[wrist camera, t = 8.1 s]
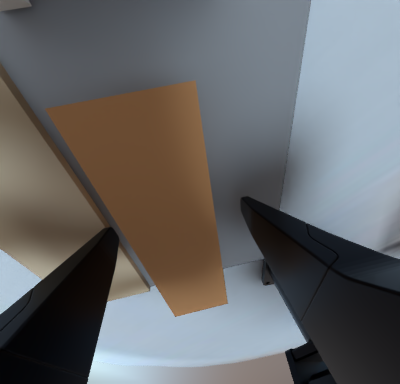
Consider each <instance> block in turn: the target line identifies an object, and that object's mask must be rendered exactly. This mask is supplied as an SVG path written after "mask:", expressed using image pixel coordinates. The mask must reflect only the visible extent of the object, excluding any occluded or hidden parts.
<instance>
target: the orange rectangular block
mask: <svg viewBox="0 0 400 384" xmlns="http://www.w3.org/2000/svg"><path fill="white" fill-rule="evenodd" d="M45 110H46V112H47V113H48V115H49V117H50V118H51V120H52V121H53V123H54V124H55V126H56V128H57V129H58V131H59V132H60V134H61V136H62V137H63V139H64V140H65V142H66V144H67V145H68V147H69V148H70V150H71V152H72V153H73V155H74V156H75V158H76V160H77V161H78V163H79V164H80V166H81V167H82V169H83V171H84V172H85V174H86V175H87V177H88V179H89V180H90V182H91V183H92V185H93V187H94V188H95V190H96V191H97V193H98V195H99V196H100V198H101V199H102V201H103V202H104V204H105V206H106V207H107V209H108V210H109V212H110V214H111V215H112V217H113V218H114V220H115V222H116V223H117V225H118V226H119V228H120V230H121V231H122V233H123V234H124V236H125V238H126V239H127V241H128V242H129V244H130V245H131V247H132V249H133V250H134V252H135V253H136V255H137V257H138V258H139V260H140V261H141V263H142V265H143V266H144V268H145V269H146V271H147V273H148V274H149V276H150V277H151V279H152V280H153V282H154V284H155V285H156V287H157V288H158V290H159V292H160V293H161V295H162V296H163V298H164V300H165V301H166V303H167V304H168V306H169V308H170V309H171V311H172V312H173V314H174V315H175V317H177V316H181V315H185V314H188V313H192V312H196V311H200V310H204V309H208V308H212V307H216V306H220V305H224V304H228V302H227V295H226V288H225V281H224V274H223V267H222V260H221V253H220V246H219V239H218V233H217V226H216V219H215V212H214V205H213V198H212V191H211V184H210V177H209V170H208V163H207V156H206V149H205V142H204V135H203V128H202V121H201V115H200V108H199V101H198V94H197V87H196V80H194V81H188V82H183V83H178V84H173V85H167V86H162V87H157V88H151V89H146V90H141V91H136V92H130V93H125V94H120V95H114V96H109V97H104V98H99V99H93V100H88V101H83V102H77V103H72V104H67V105H62V106H56V107H51V108H46V109H45Z"/></svg>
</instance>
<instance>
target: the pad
mask: <svg viewBox="0 0 400 384" xmlns="http://www.w3.org/2000/svg"><path fill="white" fill-rule="evenodd" d="M107 227H110V225H109V224H108V222H107V221H106V219H105V218H104V216H103V215H102V213H101V212H100V210H99V209H98V207H97V206H96V205H95V203H94V202H93V200H92V199H91V197H90V196H89V194H88V193H87V191H86V190H85V188H84V187H83V185H82V184H81V182H80V181H79V179H78V178H77V176H76V175H75V173H74V172H73V170H72V169H71V167H70V166H69V164H68V163H67V161H66V160H65V158H64V157H63V155H62V154H61V152H60V151H59V149H58V148H57V146H56V145H55V143H54V142H53V140H52V139H51V137H50V136H49V134H48V133H47V131H46V130H45V128H44V127H43V125H42V124H41V122H40V121H39V119H38V118H37V116H36V115H35V113H34V112H33V110H32V109H31V107H30V106H29V104H28V103H27V101H26V100H25V98H24V97H23V95H22V94H21V93H20V91H19V90H18V88H17V87H16V85H15V84H14V82H13V81H12V79H11V78H10V76H9V75H8V73H7V72H6V70H5V69H4V67H3V66H2V64H1V63H0V249H1V250H3V251H4V252H5V253H7V254H8V255H10V256H11V257H12V258H14V259H15V260H16V261H18V262H19V263H20V264H22V265H23V266H25V267H26V268H27V269H29V270H30V271H31V272H33V273H34V274H35V275H37V276H38V277H39V278H41V279H42V280H43V279H44V278H45V277H46V276H47V275H49V274H50V273H51V272H52V271H53V270H55V269H56V268H57V267H58V266H59V265H61V264H62V263H63V262H64V261H65V260H66V259H68V258H69V257H70V256H71V255H72V254H74V253H75V252H76V251H77V250H78V249H80V248H81V247H82V246H83V245H84V244H85V243H87V242H88V241H89V240H90V239H91V238H93V237H94V236H95V235H96V234H97V233H99V232H100V231H101V230H102V229H103V228H107ZM148 291H150V285H149V284H148V282H147V281H146V279H145V278H144V276H143V275H142V273H141V272H140V270H139V269H138V267H137V266H136V264H135V263H134V261H133V260H132V258H131V257H130V255H129V254H128V252H127V251H126V249H125V248H124V246H123V245H122V243H121V242H120V240H119V247H118V254H117V262H116V267H115V272H114V276H113V280H112V284H111V288H110V292H109V296H108V300H107V302H108V301H112V300H116V299H120V298H124V297H128V296H132V295H136V294H140V293H144V292H148Z"/></svg>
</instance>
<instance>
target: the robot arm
mask: <svg viewBox="0 0 400 384" xmlns="http://www.w3.org/2000/svg"><path fill="white" fill-rule="evenodd" d="M240 209H241V213H242V215H243V217H244V220H245V222H246V224H247V227H248V229H249V231H250V233H251V235H252V237H253V239H254V241H255V242H256V244H257V246H258V248H259V249H260V251H261V253H262V255H263V256H264V258H265V259H264V265H263V274H262V282H263V284H264V285H270V284H275V286H276V287H277V289H278V291H279V293H280V295H281V296H282V298H283V300H284V302H285V304H286V306H287V307H288V309H289V311H290V313H291V315H292V316H293V318H294V320H295V322H296V324H297V325H298V327H299V329H300V331H301V333H302V335H303V336H304V338H305V340H306V342H307V343H306V344H304V345H302V346H300V347H298V348H295V349H289V350H287V351H285V354H286V357H287V361H288V364H289V367H290V371H291V375H292V378H293V381H294V384H400V259H397V258H394V257H391V256H388V255H385V254H382V253H379V252H377V251H374V250H372V249H369V248H366V247H364V246H361V245H359V244H356V243H353V242H351V241H348V240H346V239H343V238H341V237H338V236H336V235H333V234H331V233H328V232H326V231H323V230H321V229H319V228H317V227H314V226H312V225H310V224H308V223H305V222H303V221H301V220H299V219H297V218H295V217H292V216H290V215H288V214H286V213H284V212H281V211H279V210H277V209H275V208H273V207H271V206H268V205H266V204H264V203H262V202H260V201H257V200H255V199H253V198H251V197H249V196H245V197H241V199H240ZM118 247H119V236H118V235H117V233H116V232H115V230H114V228H113V227H107V228H103V229H102V230H101V231H100V232H99V233H97V234H96V235H95V236H94V237H93V238H91V239H90V240H89V241H88V242H87V243H85V244H84V245H83V246H82V247H81V248H80V249H78V250H77V251H76V252H75V253H74V254H72V255H71V256H70V257H69V258H68V259H66V260H65V261H64V262H63V263H62V264H61V265H59V266H58V267H57V268H56V269H55V270H53V271H52V272H51V273H50V274H49V275H47V276H46V277H45V278H44V279H43V280H42V281H40V282H39V283H38V284H37V285H36V286H35V287H34V288H32V289H31V290H30V291H28V292H27V293H26V294H25V295H24V296H22V297H21V298H20V299H19V300H18V301H16V302H15V303H14V304H13V305H12V306H10V307H9V308H8V309H7V310H5V311H4V312H3V313H2V314H0V384H87V382H88V377H89V373H90V369H91V365H92V361H93V357H94V353H95V349H96V345H97V341H98V337H99V332H100V328H101V324H102V320H103V316H104V312H105V308H106V304H107V300H108V296H109V292H110V288H111V284H112V280H113V276H114V272H115V267H116V262H117V254H118Z"/></svg>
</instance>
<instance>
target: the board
mask: <svg viewBox="0 0 400 384" xmlns="http://www.w3.org/2000/svg"><path fill="white" fill-rule="evenodd" d="M29 1H30V3H31V5H32V6H31V7H25V8H18V9H12V10H6V11H0V63H1V64H2V66H3V67H4V69H5V70H6V72H7V73H8V75H9V76H10V78H11V79H12V81H13V82H14V84H15V85H16V87H17V88H18V90H19V91H20V93H21V94H22V95H23V97H24V98H25V100H26V101H27V103H28V104H29V106H30V107H31V109H32V110H33V112H34V113H35V115H36V116H37V118H38V119H39V121H40V122H41V124H42V125H43V127H44V128H45V130H46V131H47V133H48V134H49V136H50V137H51V139H52V140H53V142H54V143H55V145H56V146H57V148H58V149H59V151H60V152H61V154H62V155H63V157H64V158H65V160H66V161H67V163H68V164H69V166H70V167H71V169H72V170H73V172H74V173H75V175H76V176H77V178H78V179H79V181H80V182H81V184H82V185H83V187H84V188H85V190H86V191H87V193H88V194H89V196H90V197H91V199H92V200H93V202H94V203H95V205H96V206H97V207H98V209H99V210H100V212H101V213H102V215H103V216H104V218H105V219H106V221H107V222H108V224H109V225H110V227H113V228H114V230H115V232H116V233H117V235H118V236H119V240H120V242H121V243H122V245H123V246H124V248H125V249H126V251H127V252H128V254H129V255H130V257H131V258H132V260H133V261H134V263H135V264H136V266H137V267H138V269H139V270H140V272H141V273H142V275H143V276H144V278H145V279H146V281H147V282H148V284H149V285H150V286H154V285H155V284H154V282H153V280H152V279H151V277H150V276H149V274H148V273H147V271H146V269H145V268H144V266H143V265H142V263H141V261H140V260H139V258H138V257H137V255H136V253H135V252H134V250H133V249H132V247H131V245H130V244H129V242H128V241H127V239H126V238H125V236H124V234H123V233H122V231H121V230H120V228H119V226H118V225H117V223H116V222H115V220H114V218H113V217H112V215H111V214H110V212H109V210H108V209H107V207H106V206H105V204H104V202H103V201H102V199H101V198H100V196H99V195H98V193H97V191H96V190H95V188H94V187H93V185H92V183H91V182H90V180H89V179H88V177H87V175H86V174H85V172H84V171H83V169H82V167H81V166H80V164H79V163H78V161H77V160H76V158H75V156H74V155H73V153H72V152H71V150H70V148H69V147H68V145H67V144H66V142H65V140H64V139H63V137H62V136H61V134H60V132H59V131H58V129H57V128H56V126H55V124H54V123H53V121H52V120H51V118H50V117H49V115H48V113H47V112H46V110H45V109H46V108H51V107H56V106H62V105H67V104H72V103H77V102H83V101H88V100H93V99H99V98H104V97H109V96H114V95H120V94H125V93H130V92H136V91H141V90H146V89H151V88H157V87H162V86H167V85H173V84H178V83H183V82H188V81H194V80H196V87H197V94H198V101H199V108H200V115H201V121H202V128H203V135H204V142H205V149H206V156H207V163H208V170H209V177H210V184H211V191H212V198H213V205H214V212H215V219H216V226H217V233H218V239H219V246H220V253H221V260H222V267H223V269H224V268H228V267H232V266H236V265H240V264H244V263H248V262H252V261H256V260H261V259H265V258H264V256H263V255H262V253H261V251H260V249H259V248H258V246H257V244H256V242H255V241H254V239H253V237H252V235H251V233H250V231H249V229H248V227H247V224H246V222H245V220H244V217H243V215H242V213H241V209H240V199H241V197H245V196H249V197H251V198H253V199H255V200H257V201H260V202H262V203H264V204H266V205H268V206H271V207H273V208H275V209H277V210H279V208H280V201H281V195H282V188H283V182H284V175H285V168H286V162H287V155H288V149H289V142H290V136H291V129H292V122H293V116H294V109H295V103H296V96H297V90H298V83H299V76H300V70H301V63H302V57H303V50H304V44H305V37H306V31H307V24H308V17H309V11H310V4H311V0H29Z"/></svg>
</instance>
